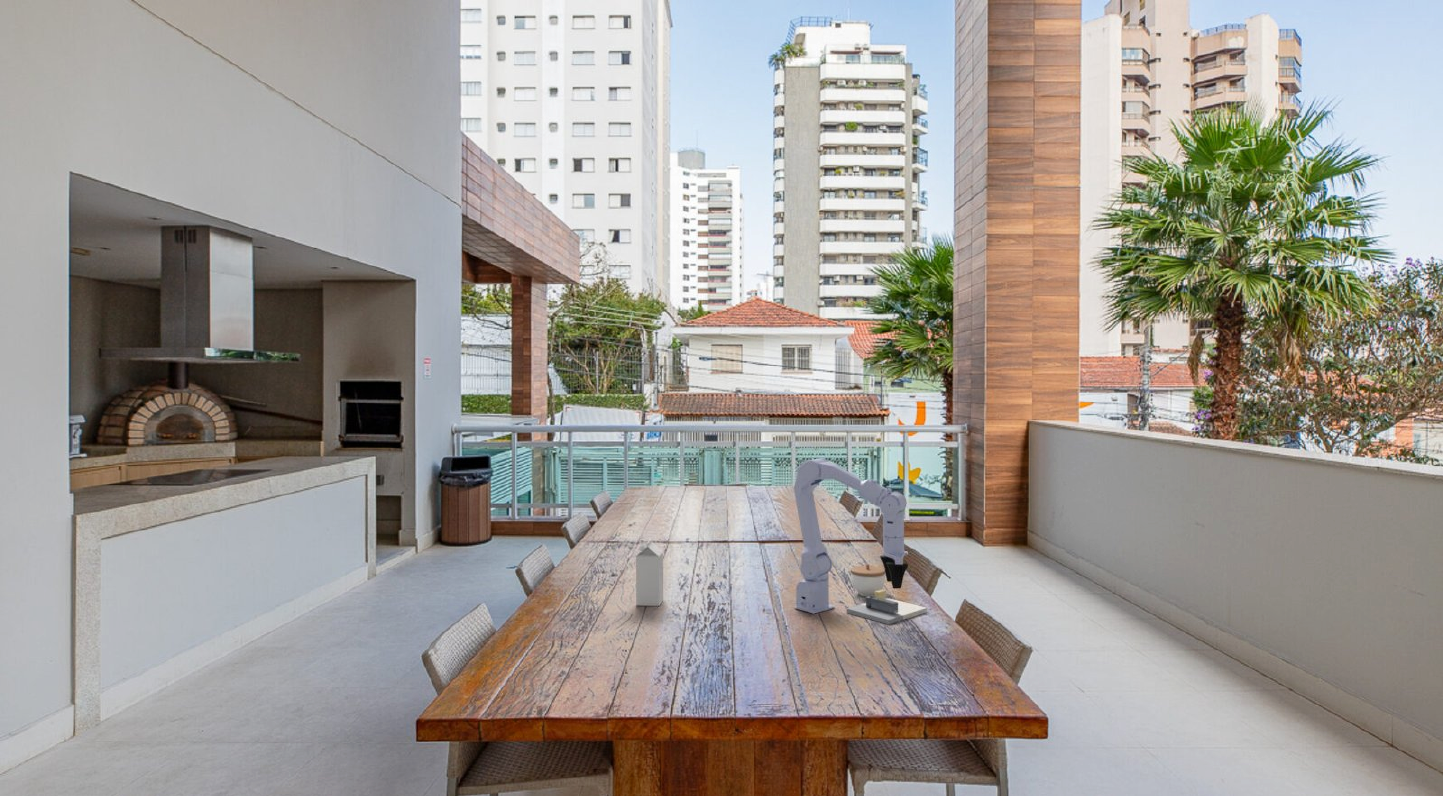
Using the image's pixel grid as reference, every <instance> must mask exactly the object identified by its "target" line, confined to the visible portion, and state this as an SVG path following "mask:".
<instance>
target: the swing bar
mask: <svg viewBox="0 0 1443 796" xmlns="http://www.w3.org/2000/svg"><path fill="white" fill-rule="evenodd" d="M865 603H866V607H868V608H874V609H877V610H881V611H885V612H889V613H892V614H895V613H898V602H894V601H890V600H886V599H882V598H878V597H875V596H865Z"/></svg>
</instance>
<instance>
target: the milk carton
mask: <svg viewBox="0 0 1443 796" xmlns="http://www.w3.org/2000/svg"><path fill="white" fill-rule="evenodd" d="M638 549H639V553H637V554H636V555H635V600H636V601H635V605H636V606H642V607H643V606H645V607H646V606H647V607H648V606H649V607H650V606H651V607H660V606H661V604H662V603H663V601H664V551H663V549H660V547H658V546H657V545H656V544H655V543H654V542H653V538H650V540H648V542H646V545H645V543H643V544H642V545H641V546H639V547H638Z"/></svg>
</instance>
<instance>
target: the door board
mask: <svg viewBox="0 0 1443 796" xmlns="http://www.w3.org/2000/svg"><path fill="white" fill-rule="evenodd" d="M886 593H887V591H886V589H882V590H878V591H875V597H878V598H882V599H886V600H890V601H894V602H898V613H895V614H892V613H889V612H885V611H881V610H877V609H874V608H868V607H866V602H865V603H860V604H857V605H853V606H850V607H846V613H848V614H849V615H850V614H851V615H854V616H857V617H861V618H865V619H867V620H872V621H875V622H879V623H883V624H886V625H892V624H894V623H898V622H900V621H903V620H907V619H910V618H912V617H915V616H919V615H923V614H925V613H928V608H927V607H925V606H920V605H917V604H913V603H909V602H905V601H901V600H897V599H893V598H889V597H887V594H886Z"/></svg>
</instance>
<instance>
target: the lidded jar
mask: <svg viewBox="0 0 1443 796" xmlns="http://www.w3.org/2000/svg"><path fill="white" fill-rule="evenodd" d="M850 579H851V584H852V588H853V589H854V590H855V592H856V593H858V595H859V596H862V597H866V596H875V591H878V590H883V588H884V586H885V580H886V574H885V569H884V567H880V566H876V565H875V566H873V565H870V564H869V563H866V564H865V565H857V566H856V565H855V566H853V567H851V568H850Z"/></svg>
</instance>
